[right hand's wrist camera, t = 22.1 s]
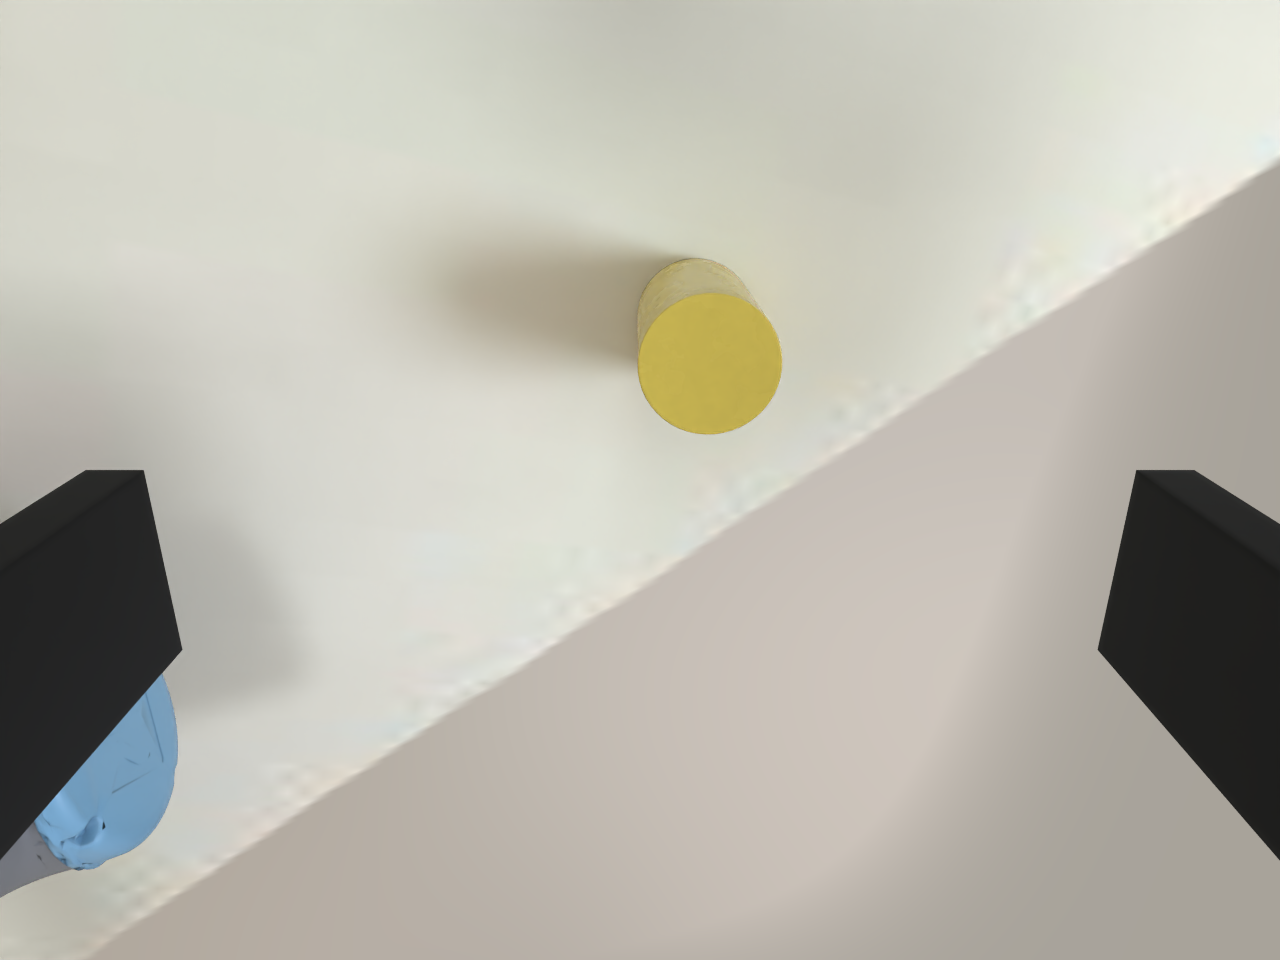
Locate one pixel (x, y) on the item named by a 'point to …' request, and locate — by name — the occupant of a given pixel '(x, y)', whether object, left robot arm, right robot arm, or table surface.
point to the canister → (705, 348)
